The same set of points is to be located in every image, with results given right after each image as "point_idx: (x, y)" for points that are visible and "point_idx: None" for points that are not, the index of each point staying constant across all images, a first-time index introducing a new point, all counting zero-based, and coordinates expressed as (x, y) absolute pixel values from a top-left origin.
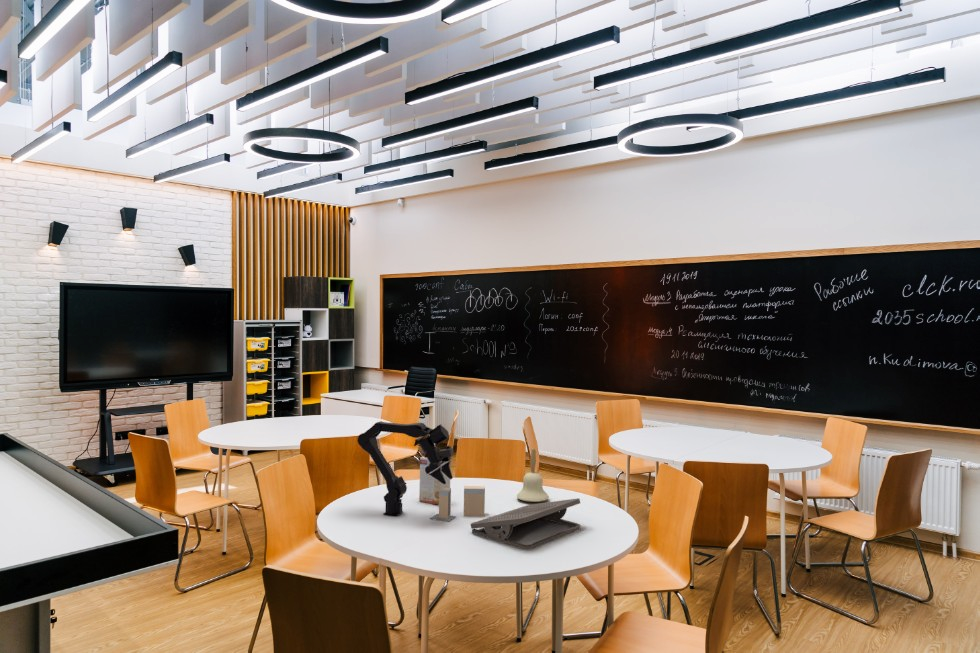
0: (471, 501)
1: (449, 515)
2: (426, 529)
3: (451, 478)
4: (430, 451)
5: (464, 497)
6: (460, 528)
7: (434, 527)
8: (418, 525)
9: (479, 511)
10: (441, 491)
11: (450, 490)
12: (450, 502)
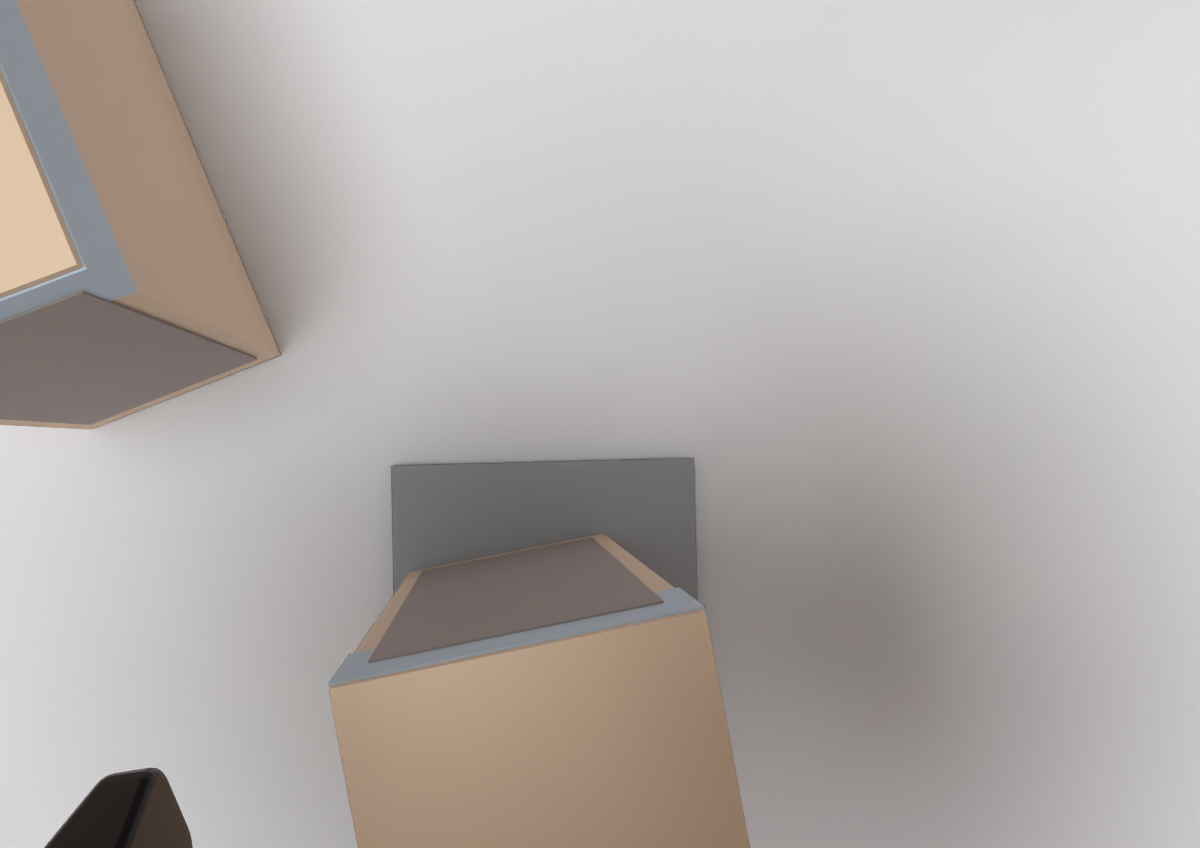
0: (129, 142)
1: (482, 559)
2: (1195, 622)
3: (174, 814)
4: None
5: (171, 294)
6: (925, 137)
7: (1057, 551)
8: (1078, 843)
9: (136, 43)
10: (744, 836)
11: (402, 657)
12: (417, 599)
